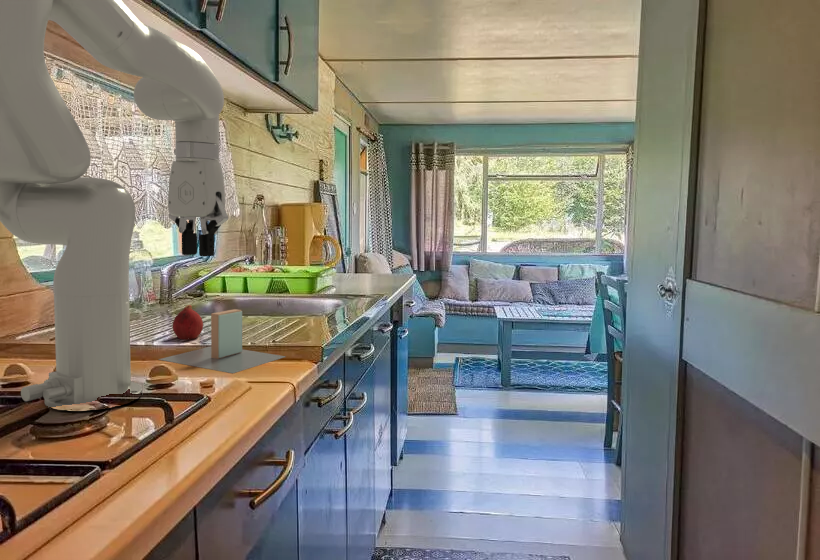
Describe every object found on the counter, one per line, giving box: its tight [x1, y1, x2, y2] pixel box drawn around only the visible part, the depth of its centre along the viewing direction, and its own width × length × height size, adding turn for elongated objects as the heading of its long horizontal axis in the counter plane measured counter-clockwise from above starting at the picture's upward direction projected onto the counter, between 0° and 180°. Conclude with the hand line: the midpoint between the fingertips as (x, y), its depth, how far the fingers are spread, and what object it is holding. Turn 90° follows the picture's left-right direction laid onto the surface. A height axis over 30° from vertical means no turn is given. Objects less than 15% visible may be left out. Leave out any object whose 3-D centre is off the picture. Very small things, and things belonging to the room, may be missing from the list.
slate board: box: [157, 345, 287, 375], centre depth 112 cm, size 14×17×1 cm
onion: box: [172, 304, 204, 340], centre depth 127 cm, size 6×6×8 cm
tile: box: [210, 308, 243, 359], centre depth 113 cm, size 6×2×8 cm, turn 154°
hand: (198, 254), depth 115 cm, fingers open, 3 cm apart
